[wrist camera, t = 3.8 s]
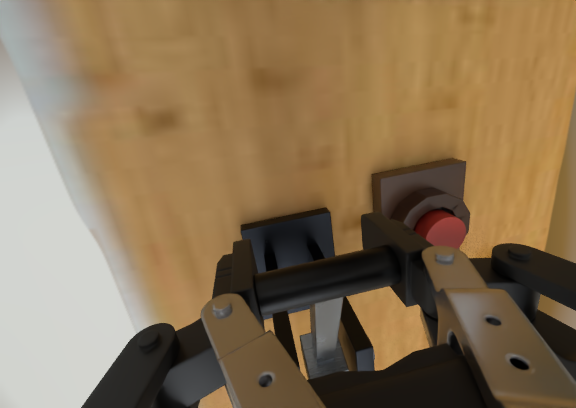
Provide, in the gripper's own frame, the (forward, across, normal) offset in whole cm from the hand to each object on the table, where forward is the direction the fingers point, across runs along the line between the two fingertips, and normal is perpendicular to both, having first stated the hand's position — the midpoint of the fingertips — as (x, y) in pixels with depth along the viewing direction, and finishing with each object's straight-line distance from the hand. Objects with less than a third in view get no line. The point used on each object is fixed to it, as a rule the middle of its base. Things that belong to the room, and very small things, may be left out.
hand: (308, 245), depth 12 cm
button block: (+12, -12, +6) cm, 19 cm away
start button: (+9, -13, +6) cm, 17 cm away
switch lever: (+1, 0, +4) cm, 4 cm away
